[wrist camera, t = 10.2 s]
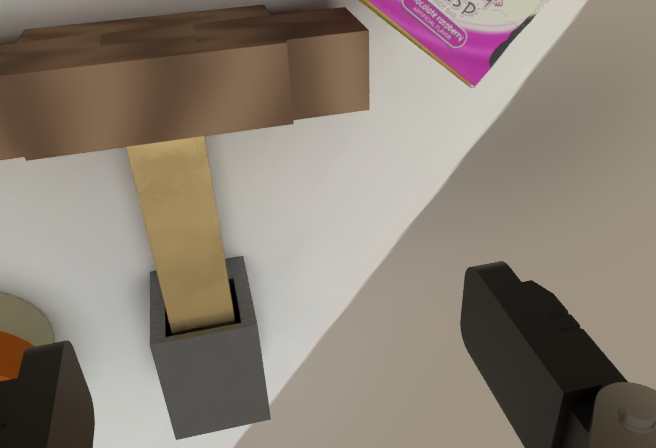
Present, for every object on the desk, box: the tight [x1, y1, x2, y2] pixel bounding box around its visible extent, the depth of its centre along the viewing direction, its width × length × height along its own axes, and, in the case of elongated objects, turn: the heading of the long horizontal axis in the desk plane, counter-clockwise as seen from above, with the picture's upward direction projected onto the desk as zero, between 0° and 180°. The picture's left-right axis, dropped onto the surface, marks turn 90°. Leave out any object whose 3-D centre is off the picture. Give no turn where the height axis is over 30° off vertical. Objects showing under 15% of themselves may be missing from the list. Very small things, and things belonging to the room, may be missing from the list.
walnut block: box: [0, 5, 369, 161], centre depth 35 cm, size 23×4×8 cm, turn 93°
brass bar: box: [126, 136, 236, 336], centre depth 40 cm, size 4×21×4 cm, turn 3°
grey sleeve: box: [150, 256, 271, 440], centre depth 47 cm, size 7×10×8 cm
